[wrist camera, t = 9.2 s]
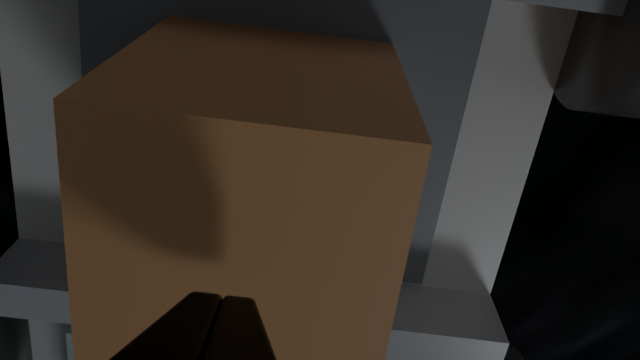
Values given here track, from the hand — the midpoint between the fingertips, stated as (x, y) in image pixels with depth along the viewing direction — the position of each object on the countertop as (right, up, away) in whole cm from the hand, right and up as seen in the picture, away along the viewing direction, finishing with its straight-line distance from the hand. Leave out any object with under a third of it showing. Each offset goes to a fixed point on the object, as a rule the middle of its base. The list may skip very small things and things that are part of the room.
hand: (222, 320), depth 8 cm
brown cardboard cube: (0, +3, +6) cm, 7 cm away
